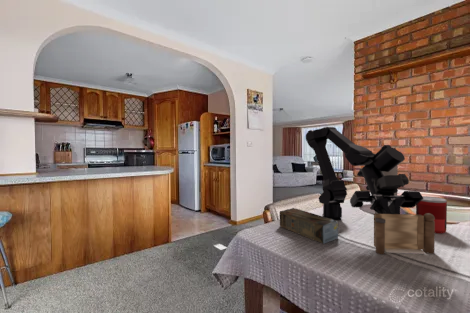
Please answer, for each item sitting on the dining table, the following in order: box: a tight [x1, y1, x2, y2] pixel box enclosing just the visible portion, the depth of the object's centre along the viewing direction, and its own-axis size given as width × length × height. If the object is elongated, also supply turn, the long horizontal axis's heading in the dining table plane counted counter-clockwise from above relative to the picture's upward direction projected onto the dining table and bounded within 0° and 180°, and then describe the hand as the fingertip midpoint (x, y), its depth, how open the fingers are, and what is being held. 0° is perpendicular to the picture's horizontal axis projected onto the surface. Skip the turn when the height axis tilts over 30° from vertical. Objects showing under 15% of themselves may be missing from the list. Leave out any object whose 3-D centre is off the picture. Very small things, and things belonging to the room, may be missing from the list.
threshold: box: [385, 248, 425, 255], centre depth 62 cm, size 10×3×1 cm, turn 84°
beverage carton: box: [279, 207, 339, 244], centre depth 77 cm, size 8×19×7 cm, turn 32°
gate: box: [373, 213, 424, 251], centre depth 62 cm, size 12×1×9 cm, turn 83°
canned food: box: [415, 195, 448, 235], centre depth 77 cm, size 8×8×11 cm
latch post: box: [375, 218, 386, 255], centre depth 61 cm, size 2×2×9 cm
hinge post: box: [422, 213, 436, 255], centre depth 61 cm, size 2×2×11 cm
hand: (397, 225), depth 63 cm, fingers closed, pressing on gate
